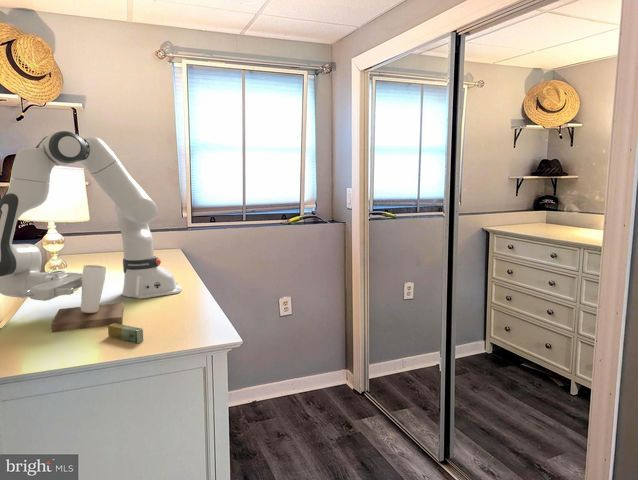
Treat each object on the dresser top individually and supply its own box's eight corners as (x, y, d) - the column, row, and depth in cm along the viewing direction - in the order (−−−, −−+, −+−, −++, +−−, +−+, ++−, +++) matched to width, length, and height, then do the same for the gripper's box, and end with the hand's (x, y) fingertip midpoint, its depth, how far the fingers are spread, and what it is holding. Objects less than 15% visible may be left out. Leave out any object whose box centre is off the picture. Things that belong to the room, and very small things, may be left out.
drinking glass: (100, 309, 158) (106, 266, 157) (100, 314, 152) (106, 269, 151) (78, 308, 155) (83, 264, 154) (77, 313, 149) (82, 267, 148)
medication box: (144, 341, 137) (143, 328, 136) (137, 344, 134) (136, 331, 134) (115, 334, 142) (114, 322, 141) (107, 337, 140) (106, 325, 139)
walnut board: (123, 309, 165) (123, 302, 164) (122, 324, 150) (121, 316, 150) (59, 315, 158) (59, 308, 157) (51, 332, 143) (50, 324, 143)
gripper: (18, 284, 144) (58, 286, 142) (64, 269, 164) (99, 270, 162) (20, 304, 145) (60, 306, 143) (65, 286, 165) (101, 288, 163)
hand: (81, 287), depth 152 cm, fingers open, 8 cm apart
